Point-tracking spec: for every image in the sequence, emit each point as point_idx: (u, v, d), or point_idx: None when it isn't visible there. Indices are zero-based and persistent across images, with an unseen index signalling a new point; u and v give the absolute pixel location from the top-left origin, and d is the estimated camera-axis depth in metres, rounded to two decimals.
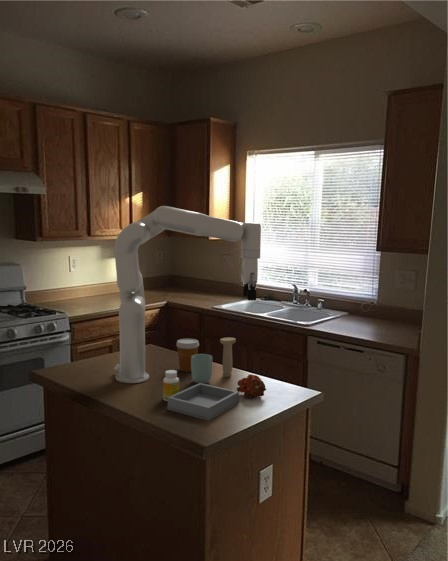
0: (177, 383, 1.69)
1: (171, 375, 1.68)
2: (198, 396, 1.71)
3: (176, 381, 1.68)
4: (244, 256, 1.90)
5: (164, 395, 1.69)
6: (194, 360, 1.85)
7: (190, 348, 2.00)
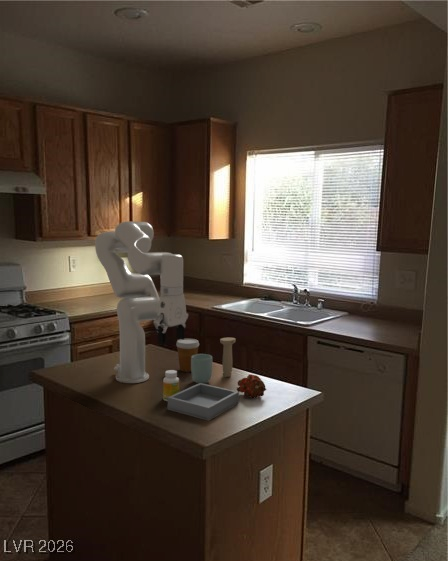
0: (177, 383, 1.69)
1: (171, 375, 1.68)
2: (198, 396, 1.71)
3: (176, 381, 1.68)
4: (182, 293, 1.67)
5: (164, 395, 1.69)
6: (194, 360, 1.85)
7: (190, 348, 2.00)
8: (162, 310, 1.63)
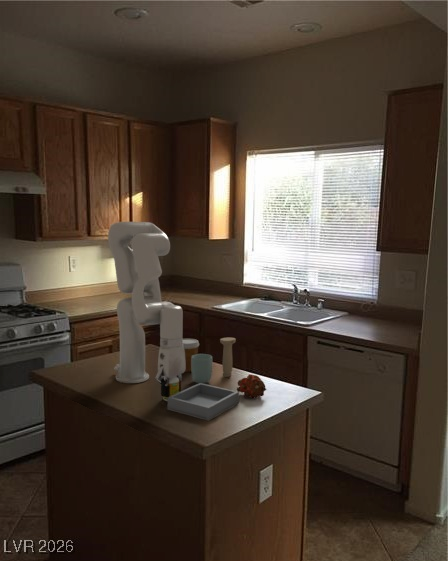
0: (177, 383, 1.69)
1: None
2: (198, 396, 1.71)
3: (176, 381, 1.68)
4: None
5: None
6: (194, 360, 1.85)
7: (190, 348, 2.00)
8: (162, 362, 1.65)
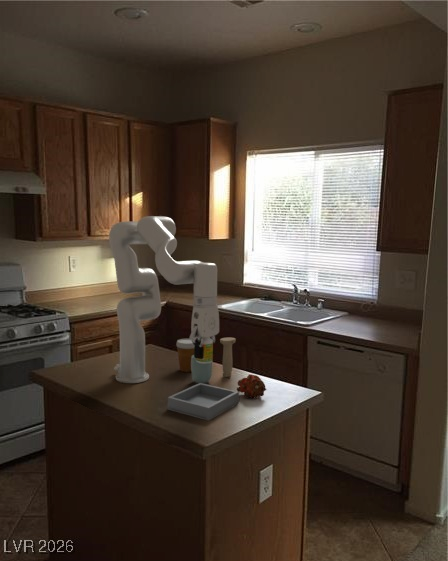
0: (211, 344, 1.61)
1: None
2: (198, 396, 1.71)
3: (210, 342, 1.60)
4: (216, 303, 1.61)
5: None
6: (194, 360, 1.85)
7: (190, 348, 2.00)
8: (196, 321, 1.57)
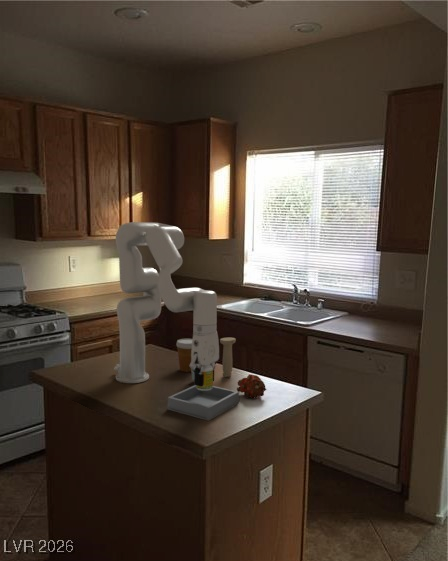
0: (211, 371, 1.62)
1: None
2: (198, 396, 1.71)
3: (210, 369, 1.61)
4: None
5: None
6: None
7: (190, 348, 2.00)
8: (196, 349, 1.58)
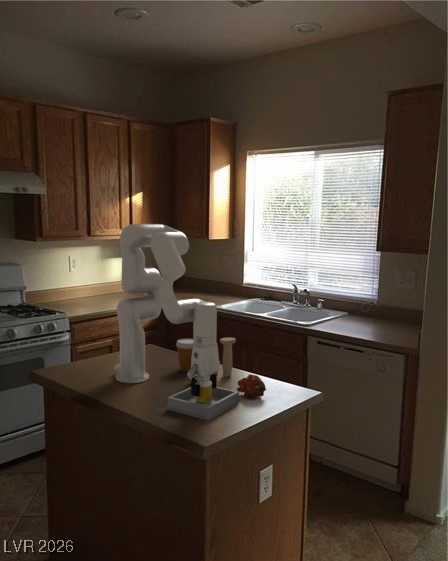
0: (210, 387, 1.63)
1: (204, 378, 1.62)
2: None
3: (209, 385, 1.62)
4: None
5: (197, 399, 1.63)
6: None
7: (190, 348, 2.00)
8: (195, 361, 1.58)
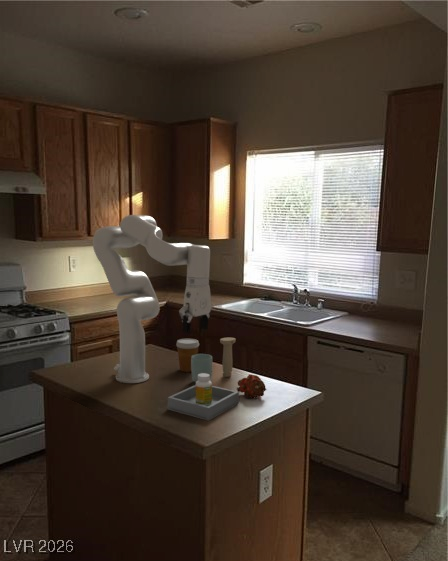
0: (210, 387, 1.63)
1: (204, 379, 1.62)
2: None
3: (209, 385, 1.62)
4: (208, 284, 1.70)
5: (197, 399, 1.63)
6: (194, 360, 1.85)
7: (190, 348, 2.00)
8: (188, 300, 1.66)
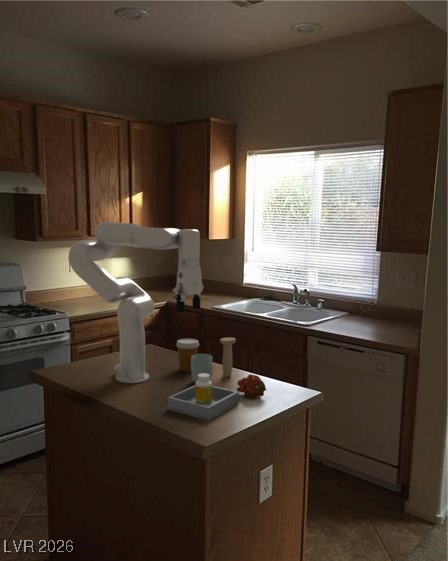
0: (210, 387, 1.62)
1: (204, 379, 1.62)
2: None
3: (209, 385, 1.62)
4: None
5: (197, 399, 1.63)
6: (194, 360, 1.85)
7: (190, 348, 2.00)
8: (180, 280, 1.76)
